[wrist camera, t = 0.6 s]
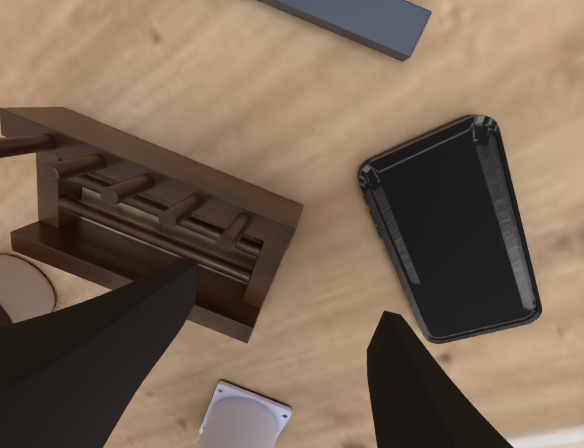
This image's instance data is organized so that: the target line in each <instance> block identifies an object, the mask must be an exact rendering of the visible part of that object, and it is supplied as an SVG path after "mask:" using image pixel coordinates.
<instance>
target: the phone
mask: <svg viewBox="0 0 584 448" xmlns="http://www.w3.org/2000/svg"><path fill="white" fill-rule="evenodd" d="M358 179H359V183H360V187H361V189H362V191H363V194H364V199H365V201H366V204H367V205H368V206H369V208H370V210H371V211H370V214H371V216H372V219H373V221H374V223H375V224H376V225H377V227H376V229H377V231H378V234H379V236H380V238H381V239H383V241H384V244H385V246H386V248H387V251H388V253H389V256H390V258H391V260H392V263H393V265H394V267H395V270H396V272H397V274H398V277H399V279H400V282H401V284H402V286H403V289H404V291H405V293H406V296H407V298H408V301H409V303H410V305H411V308H412V310H413V312H414V315H415V317H416V320H417V322H418V324H419V327H420V329H421V331H422V334H423V336H424V337H425V339H426V340H428V341H429V342H431V343H435V344H442V343H447V342H452V341H456V340H461V339H465V338H469V337H474V336H478V335H482V334H487V333H491V332H496V331H500V330H504V329H509V328H513V327H518V326H522V325H526V324H529V323H532V322H533V321H535V320H537V319H538V317H539V316H540V315H541V313H542V305H541V301H540V297H539V293H538V289H537V284H536V280H535V276H534V272H533V268H532V263H531V259H530V255H529V251H528V247H527V242H526V238H525V234H524V230H523V226H522V222H521V217H520V213H519V209H518V205H517V201H516V196H515V192H514V188H513V184H512V180H511V175H510V171H509V167H508V163H507V159H506V154H505V150H504V146H503V142H502V138H501V133H500V129H499V127H498V124H497V122H496V121H494V120H493V119H492V118H490V117H488V116H483V115H467V116H464V117H461V118H459V119H456V120H454V121H452V122H450V123H447V124H445V125H443V126H441V127H439V128H436V129H434V130H432V131H430V132H427V133H425V134H423V135H421V136H418V137H416V138H414V139H412V140H410V141H407V142H405V143H403V144H401V145H398V146H396V147H394V148H392V149H389V150H387V151H385V152H383V153H381V154H378V155H376V156H374V157H372V158H370V159H368V160H366V161H365V162H364V163H363V164H362V165H361V167H360V169H359V171H358Z"/></svg>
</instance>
